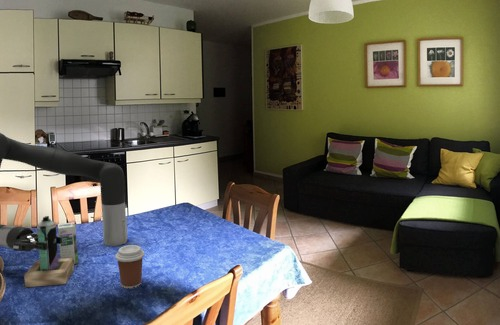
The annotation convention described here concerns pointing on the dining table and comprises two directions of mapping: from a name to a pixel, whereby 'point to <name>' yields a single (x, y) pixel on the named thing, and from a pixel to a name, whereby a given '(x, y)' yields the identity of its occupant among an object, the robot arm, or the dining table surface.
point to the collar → (49, 274)
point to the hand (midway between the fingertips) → (54, 243)
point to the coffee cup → (130, 265)
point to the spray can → (50, 237)
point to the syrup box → (68, 241)
